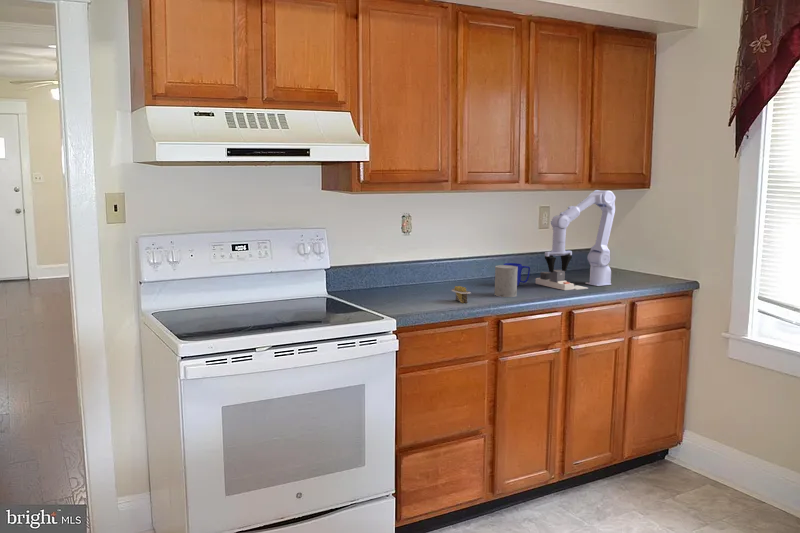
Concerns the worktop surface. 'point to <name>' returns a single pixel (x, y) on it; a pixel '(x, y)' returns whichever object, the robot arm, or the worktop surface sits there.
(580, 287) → the mat
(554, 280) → the block
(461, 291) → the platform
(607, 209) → the robot arm
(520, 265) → the mug
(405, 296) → the worktop surface
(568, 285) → the power strip
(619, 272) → the worktop surface
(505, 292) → the gray concrete cylinder
